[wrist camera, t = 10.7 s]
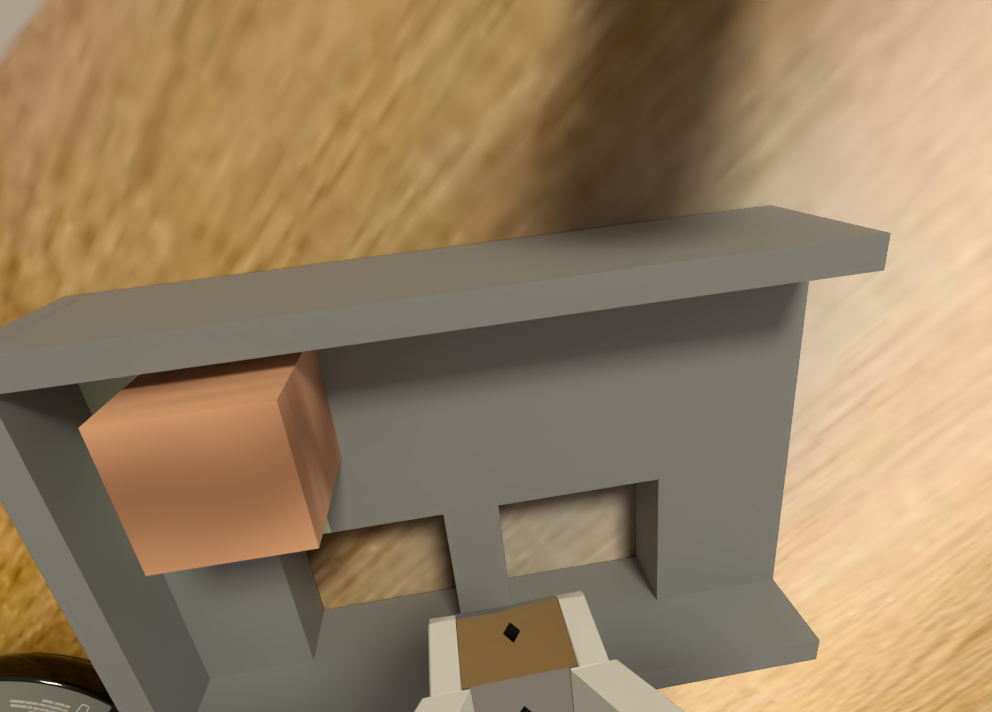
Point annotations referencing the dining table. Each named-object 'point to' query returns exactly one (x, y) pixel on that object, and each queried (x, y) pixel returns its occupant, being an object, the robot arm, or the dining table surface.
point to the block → (219, 461)
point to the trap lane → (450, 450)
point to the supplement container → (51, 685)
